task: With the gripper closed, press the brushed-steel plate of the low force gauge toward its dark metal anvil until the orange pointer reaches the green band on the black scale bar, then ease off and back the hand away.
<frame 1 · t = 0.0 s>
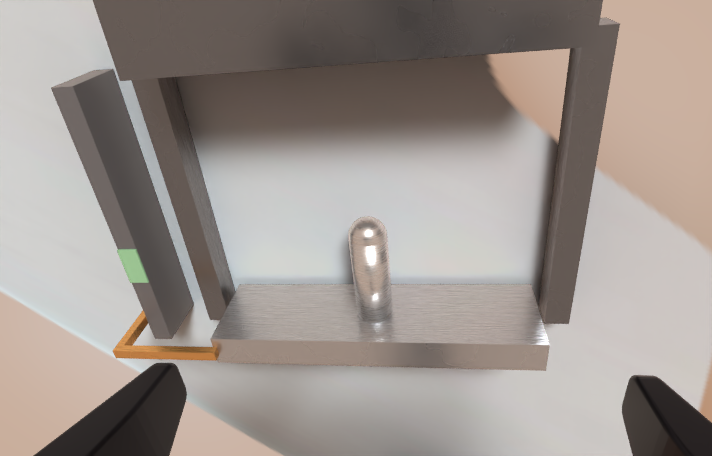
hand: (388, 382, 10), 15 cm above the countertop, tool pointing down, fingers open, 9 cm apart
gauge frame: (373, 213, 25), on the countertop
gauge plunger: (321, 303, 24), point 3 cm above the countertop, slide at 0.0 cm
gauge scale: (134, 217, 25), on the countertop
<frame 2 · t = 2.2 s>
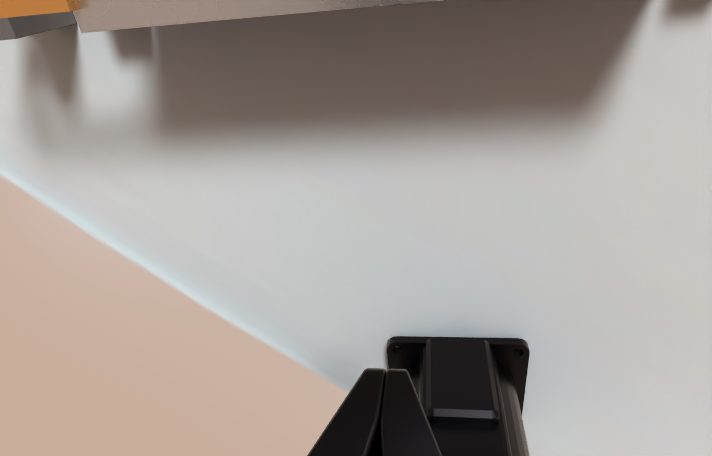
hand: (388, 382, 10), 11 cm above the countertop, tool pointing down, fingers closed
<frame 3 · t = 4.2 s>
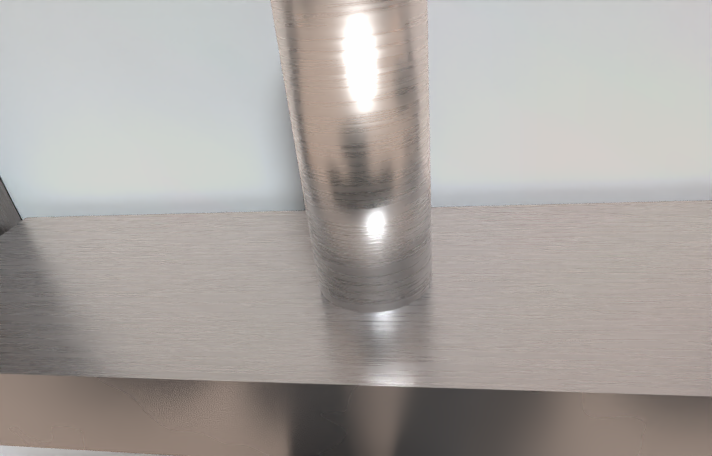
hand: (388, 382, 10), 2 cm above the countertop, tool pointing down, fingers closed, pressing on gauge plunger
gauge plunger: (202, 249, 8), point 3 cm above the countertop, slide at 0.0 cm, touching gripper
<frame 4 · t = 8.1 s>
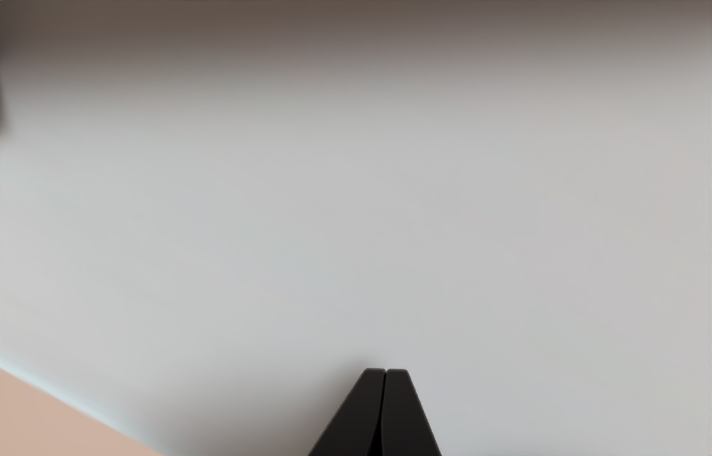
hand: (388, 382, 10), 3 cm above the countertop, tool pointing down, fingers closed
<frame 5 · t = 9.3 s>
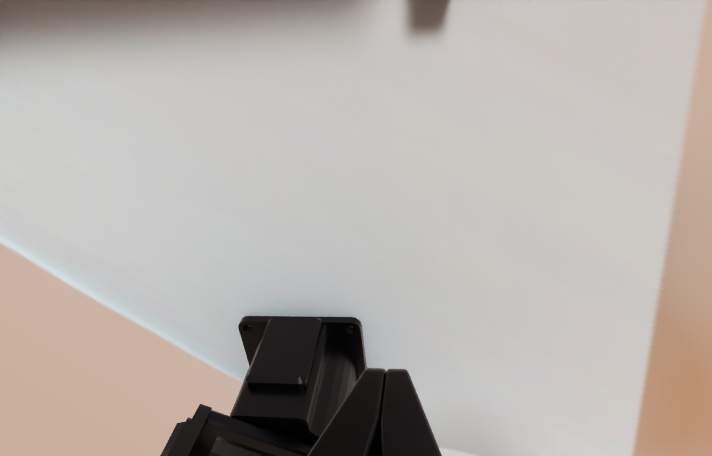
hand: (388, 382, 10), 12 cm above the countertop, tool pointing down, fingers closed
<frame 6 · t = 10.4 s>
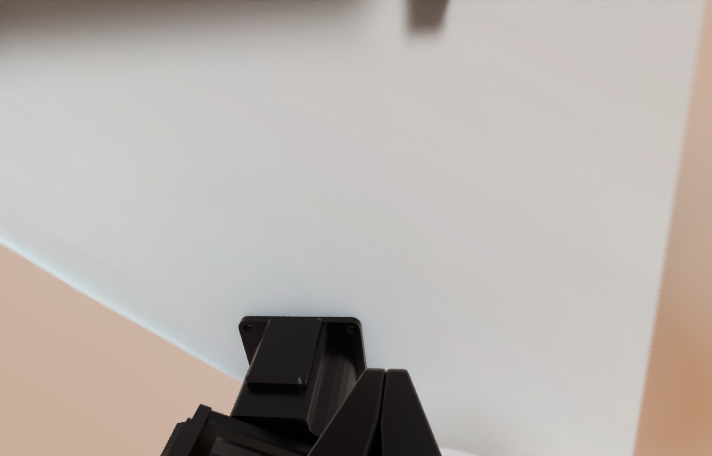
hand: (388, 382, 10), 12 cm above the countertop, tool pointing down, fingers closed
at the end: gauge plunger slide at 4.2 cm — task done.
